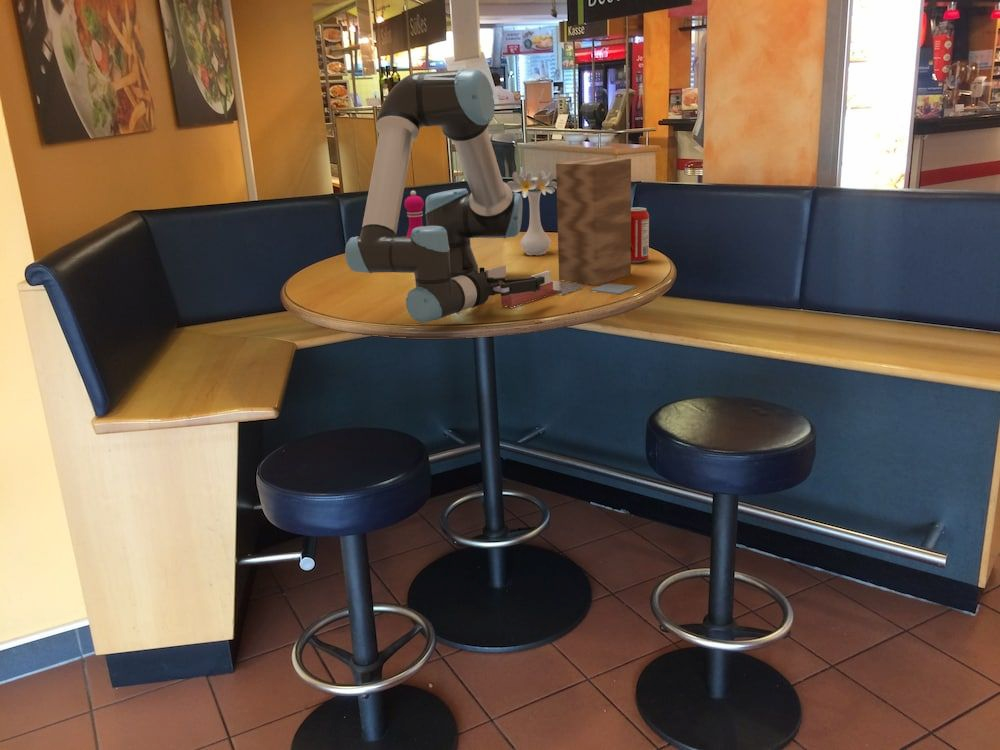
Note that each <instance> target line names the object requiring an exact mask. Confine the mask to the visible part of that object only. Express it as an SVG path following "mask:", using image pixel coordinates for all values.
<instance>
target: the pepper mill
mask: <svg viewBox="0 0 1000 750" xmlns="http://www.w3.org/2000/svg"><path fill="white" fill-rule="evenodd" d="M424 206H425V203H424V199H423V198H422V197H421V196H418V195H417V192H416V190H411V191H410V195H409V196H407V197H406V198H405V200H404V208H405V209H406V211H407V212H406V217H408V224H409V225H408V230H407V233H406V236H405V237H407V236H411V233H412V230H413V229H414V228H416V227H421V226H424V224H423V220H422V219H423V215H424V214H423V208H424Z"/></svg>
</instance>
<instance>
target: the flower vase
mask: <svg viewBox="0 0 1000 750" xmlns="http://www.w3.org/2000/svg"><path fill="white" fill-rule="evenodd" d="M536 174H537V175H536V176H537V177H536V176H535V175H534V173H533V172H532V171H531V170H528V171H527V174H526V176H525V178H524V177H523V175H524V172H523V171H522V172H520V173H519V175H518V173H517V171H513V173H512V176H511V177H512V180H513V181H512V180H510V181H507V182H505V183H506V184H507V185H508V186H509V187H510V188H511V190H512V193H518V192H521V196H522V198H524V199H525V198H527V197H528V203H529V204H528V205H529V222H528V223H529V224H528V228H527V231H526V233H525V234H524V235H523V236H522V238H521V239H520V240H521V241H520V247H521V248H522V249H523V250H524V251H525V254H526V255H528V256H532V255H536V256H543V254H544V255H546V254H547V250H548V249H549V248H550V247H551V244H552V242H551V238H550V236H549V235H548V234H547V233H546V232H545V231H544V228H543V226H542V223H541V213H540V212H541V211H540V200H541V194H542V195H544V196H546V195H547V193H548V194H550V195H551V194H553V193H556V191H557V181H553V179H554V174H553V172H552V171H550V172H548V174H546V173H545V171H544V170H541V173H540V172H539V171H538V172H537V173H536Z"/></svg>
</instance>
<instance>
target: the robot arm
mask: <svg viewBox="0 0 1000 750" xmlns="http://www.w3.org/2000/svg"><path fill="white" fill-rule="evenodd" d="M493 92H494V91H493V88H492V85H491V82H490V80H489V79H488V76H487V75H486V74H485V73H484V72H483V71H481V70H477V69H467V68H462V69H456V70H441V71H426V72H425V71H423V72H422V71H421V72H420V71H417V72H414V73H411V74H409V75H407V76H405V77H403V78H402V79H400V80H399V81H398V82H397V83H396V84H395V85H394V86H393V87H392V89H391V90H390V91H389V92H388V93H387V95H386V96H385V98H384V100H383V102H382V104H381V106H380V108H379V111H378V114H377V118H376V124H375V128H376V132H377V133H378V139H377V145H376V149H375V154H374V161H373V167H372V171H371V177H370V182H369V188H368V194H367V198H366V204H365V208H364V209H365V210H364V214H363V215H364V216H363V219H362V220H363V221H362V226H361V230H360V234H359V235H360V236H357V235H356V236H352V237H350V238H349V239H348V241H346V242H347V243H346V245H345V248H344V249H345V251H344V254H345V255H344V256H345V257H344V258H345V261H346V264H347V266H348V268H349V269H350V270H351V271H352V272H357V273H363V274H364V273H367V274H372V273H401V274H402V273H403V274H404V273H405V274H406V273H414V281H415V287H414V288H413V289H411V290H409V291H408V292H407V295H406V298H405V306H406V310H407V312H408V314H409V315H410V317H411V318H412V319H413V320H414V321H416V322H418V323H427V322H432V321H437V320H438V321H439V320H440V319H443V318H444V317H447V316H450V315H454V314H457V315H460V314H461V312H462V311H466V310H469V309H472V308H476V307H478V306H482V305H484V304H485V303H487V301H488V299H489V297H490V296H491V297H492V296H495V295H499V294H500V297H501V296H506V295H510V294H515V293H522V292H529V291H533V292H536V290H540V286H541V285H544V284H547V283H550V281H551V270H545V271H543V272H539V273H535V274H533V275H530V276H529V277H520V278H519V277H518V278H517V277H516V278H508V279H507V278H505V277H507V269H506V267H507V265H505V264H502V265H499V266H496V267H492V268H489V269H485V267H479V265H478V262H477V259H476V257H475V255H474V251H473V250H472V246H471V239H475V238H476V239H507V238H516V237H517V236H519V234H520V232H521V226H522V219H523V196H522V193H518V192H513V191H512V190H511V187H509V186H508V185H507V184H506V183H507V182H505V181H504V180H503V178H502V177H503V176H502V174H501V171H500V168H499V167H500V166H499V164H498V161H497V157H496V154H495V150H494V148H493V144H492V141H491V137H490V134H489V130H488V127H489V126H490V123H491V122H492V121H493V119H494V115H495V99H494V93H493ZM423 127H440V128H441V131H442V133H443V135H444V136H445V137H446V139H449V140H451V141H452V142H453V145H454V148H455V151H456V154H457V157H458V159H459V162H460V165H461V168H462V171H463V172H464V176H465V179H466V182H467V184H468V187H469V191H470V194H469V191H468V189H467V188H466V187H465V188H457V189H450V190H444V191H440V192H435V193H431V194H429V195H428V196H427V197H426V199H425V203H424V204H425V212H424V213H425V220H426V221H425V222H426V225H425V226H424V225H423V226H421V227H416V228H414V229H413V230H412V233H411V236H407V237H406V236H397V231H398V226H399V220H400V215H401V209H402V203H403V198H404V193H405V185H406V180H407V176H408V168H409V164H410V158H411V152H412V147H413V141H416V139H417V138H418V136H419V132H420V129H421V128H423Z"/></svg>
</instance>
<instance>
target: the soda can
mask: <svg viewBox="0 0 1000 750" xmlns="http://www.w3.org/2000/svg"><path fill="white" fill-rule="evenodd" d="M649 233H650V214H649V212H648V210H647V208H646V207H639V206H638V207H631V264H633V263H635V264H642V263H645V262H646V261H648V259H649V256H650V255H649V249H650V246H649V245H650V244H649V243H650V241H649V240H650V235H649Z"/></svg>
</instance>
